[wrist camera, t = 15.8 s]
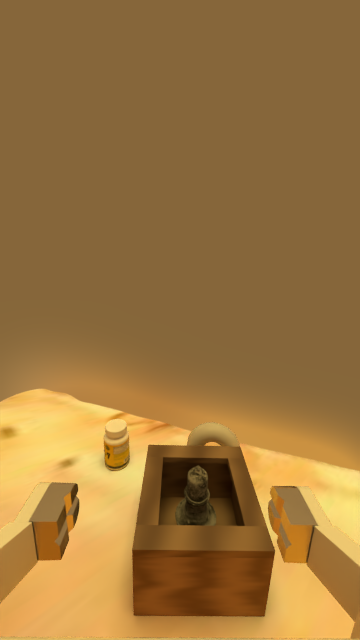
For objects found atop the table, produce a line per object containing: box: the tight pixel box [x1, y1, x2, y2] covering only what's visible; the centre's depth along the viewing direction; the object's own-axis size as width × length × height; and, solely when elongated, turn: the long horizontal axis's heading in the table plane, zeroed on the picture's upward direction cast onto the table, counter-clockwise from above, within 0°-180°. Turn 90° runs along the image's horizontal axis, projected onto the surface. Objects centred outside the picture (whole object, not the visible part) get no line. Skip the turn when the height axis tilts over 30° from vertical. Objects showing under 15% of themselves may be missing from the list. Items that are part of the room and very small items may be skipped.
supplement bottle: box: [104, 419, 129, 470], centre depth 49 cm, size 5×5×8 cm
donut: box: [187, 422, 240, 447], centre depth 47 cm, size 10×4×10 cm, turn 80°
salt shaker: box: [175, 465, 216, 526], centre depth 35 cm, size 6×6×12 cm
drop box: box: [132, 445, 275, 616], centre depth 35 cm, size 15×15×10 cm
